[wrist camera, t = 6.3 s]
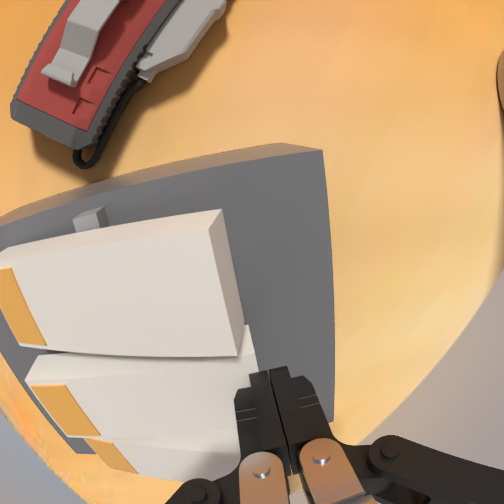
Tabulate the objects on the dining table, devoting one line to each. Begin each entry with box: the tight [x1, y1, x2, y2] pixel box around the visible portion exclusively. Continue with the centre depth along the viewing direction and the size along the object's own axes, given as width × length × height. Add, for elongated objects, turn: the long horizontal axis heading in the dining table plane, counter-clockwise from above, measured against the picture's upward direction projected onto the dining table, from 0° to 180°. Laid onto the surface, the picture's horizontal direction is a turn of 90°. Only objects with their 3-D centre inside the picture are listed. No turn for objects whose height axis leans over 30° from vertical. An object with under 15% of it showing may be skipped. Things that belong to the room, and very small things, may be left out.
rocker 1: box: [25, 325, 259, 438], centre depth 12 cm, size 10×4×2 cm, turn 99°
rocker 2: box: [83, 426, 241, 482], centre depth 14 cm, size 10×4×2 cm, turn 99°
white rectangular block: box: [0, 209, 245, 357], centre depth 10 cm, size 10×4×2 cm, turn 99°
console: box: [0, 143, 335, 454], centre depth 17 cm, size 18×16×8 cm
